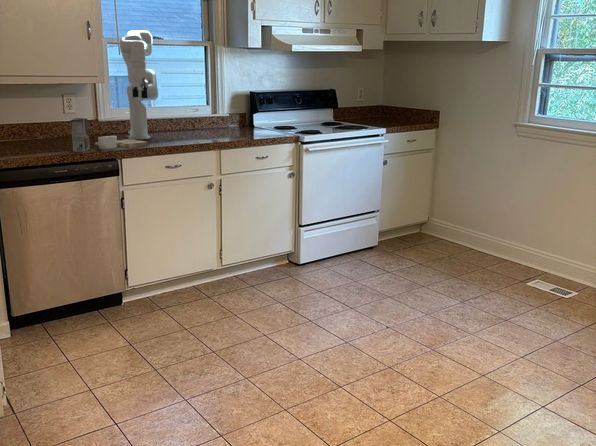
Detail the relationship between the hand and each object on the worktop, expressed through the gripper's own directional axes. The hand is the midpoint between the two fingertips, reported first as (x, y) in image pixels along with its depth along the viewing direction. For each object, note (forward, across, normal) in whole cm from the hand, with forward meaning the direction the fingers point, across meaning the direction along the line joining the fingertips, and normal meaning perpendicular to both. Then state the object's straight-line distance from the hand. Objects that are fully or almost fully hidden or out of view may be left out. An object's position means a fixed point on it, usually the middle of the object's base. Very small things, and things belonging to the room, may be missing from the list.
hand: (140, 97), depth 325 cm
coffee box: (+26, -3, -33) cm, 42 cm away
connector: (+26, -3, -19) cm, 32 cm away
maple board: (+26, -5, -5) cm, 27 cm away
